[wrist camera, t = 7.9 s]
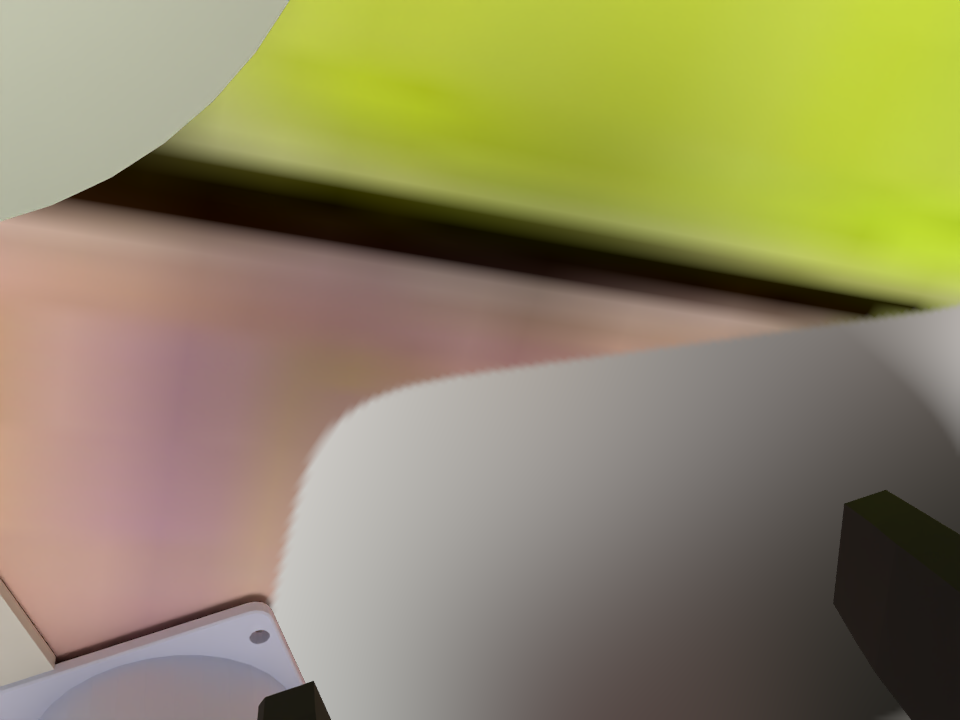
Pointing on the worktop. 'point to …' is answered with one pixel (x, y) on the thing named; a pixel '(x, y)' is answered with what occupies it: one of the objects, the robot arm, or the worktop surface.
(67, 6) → the lid
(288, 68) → the worktop surface
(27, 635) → the mat
